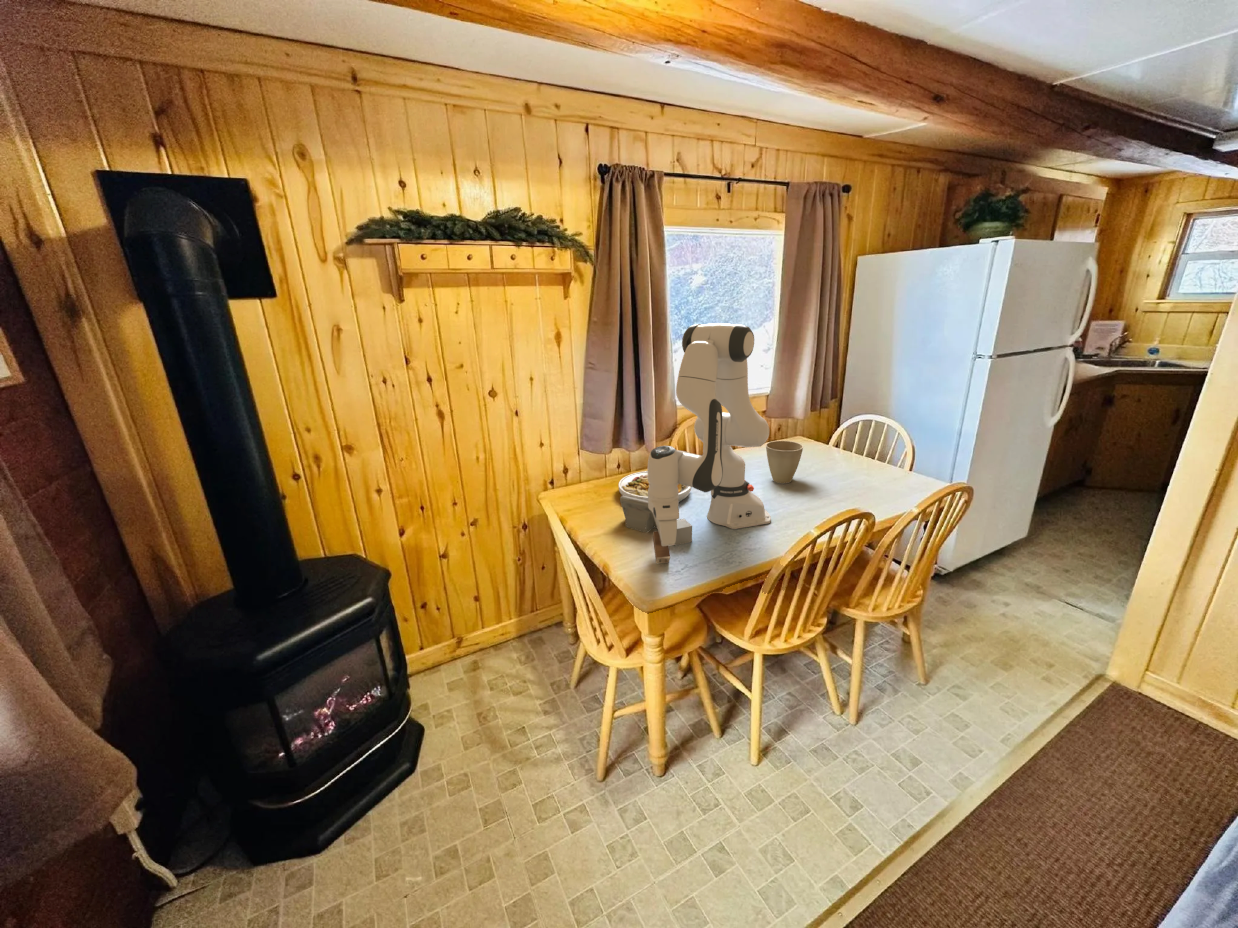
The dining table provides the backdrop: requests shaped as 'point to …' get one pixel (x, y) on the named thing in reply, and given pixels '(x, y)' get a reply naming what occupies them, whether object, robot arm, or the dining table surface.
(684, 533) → the grey cube
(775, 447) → the plant pot
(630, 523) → the digital clock
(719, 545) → the dining table surface
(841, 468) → the dining table surface
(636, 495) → the bowl
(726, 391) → the robot arm
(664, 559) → the walnut post
